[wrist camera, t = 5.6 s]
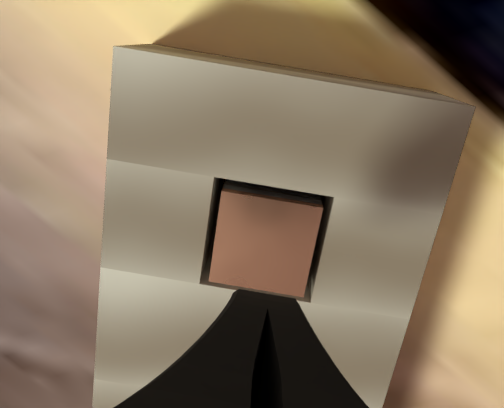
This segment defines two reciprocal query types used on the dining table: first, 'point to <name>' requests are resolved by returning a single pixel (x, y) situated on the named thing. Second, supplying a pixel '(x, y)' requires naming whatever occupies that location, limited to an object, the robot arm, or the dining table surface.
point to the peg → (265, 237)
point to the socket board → (269, 174)
